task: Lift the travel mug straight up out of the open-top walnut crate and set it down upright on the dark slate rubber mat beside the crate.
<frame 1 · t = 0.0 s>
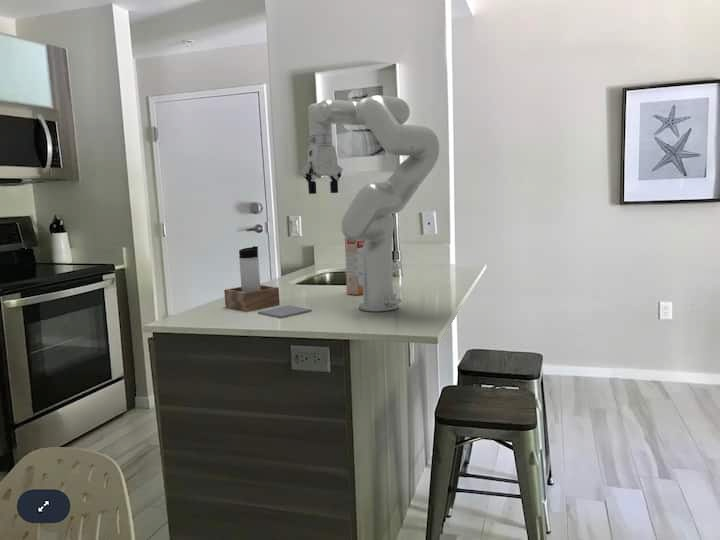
hand: (323, 193, 196), 37 cm above the worktop, tool pointing down, fingers open, 9 cm apart
cracker box: (363, 292, 214), on the worktop
travel mug: (252, 306, 195), resting in crate
mat: (284, 312, 183), on the worktop
crate: (252, 306, 195), on the worktop
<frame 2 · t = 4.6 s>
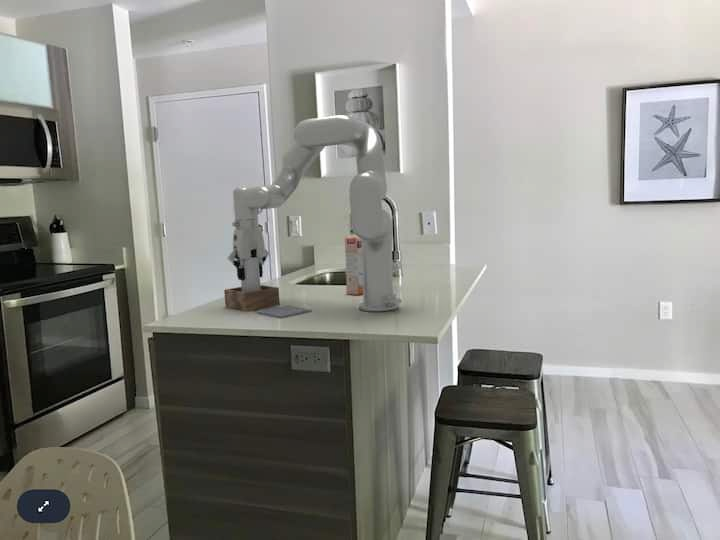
hand: (250, 277, 194), 10 cm above the worktop, tool pointing down, fingers closed on travel mug, 6 cm apart
travel mug: (252, 306, 195), resting in crate, touching gripper
everything else where it was.
when the fingers open (11 cm above the worktop, at t = 11.9 s): travel mug drops 1 cm, resting on mat.
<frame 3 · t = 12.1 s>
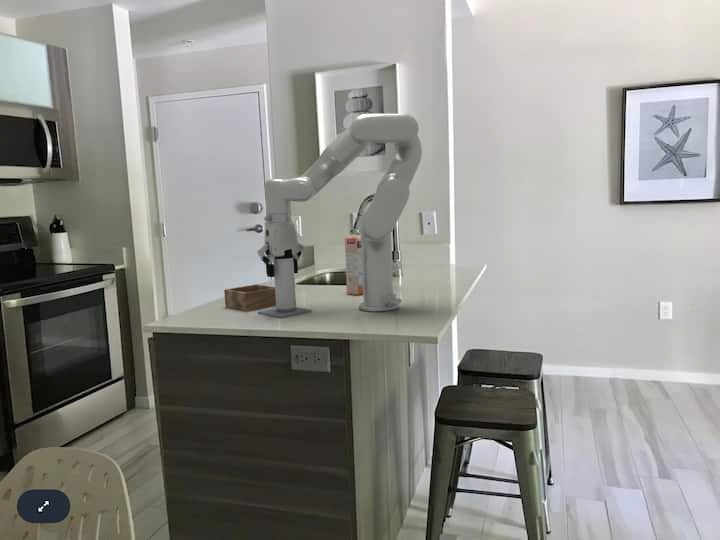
hand: (282, 274, 181), 12 cm above the worktop, tool pointing down, fingers open, 8 cm apart
travel mug: (286, 310, 183), resting on mat
everything else where it was.
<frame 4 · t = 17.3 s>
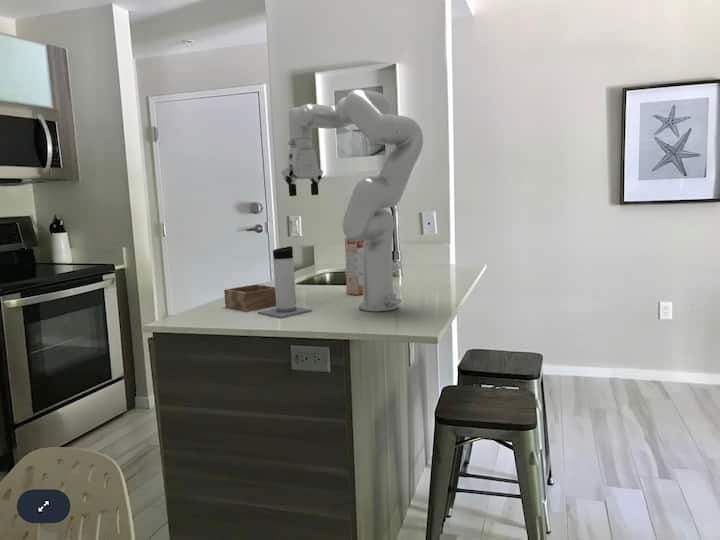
hand: (304, 195, 200), 36 cm above the worktop, tool pointing down, fingers open, 9 cm apart
nothing on the worktop moved.
at the end: travel mug inside the target area on the mat (0.7 cm from its centre), point 0.4 cm above the mat's base; travel mug tilted 0°; the gripper is holding nothing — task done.
